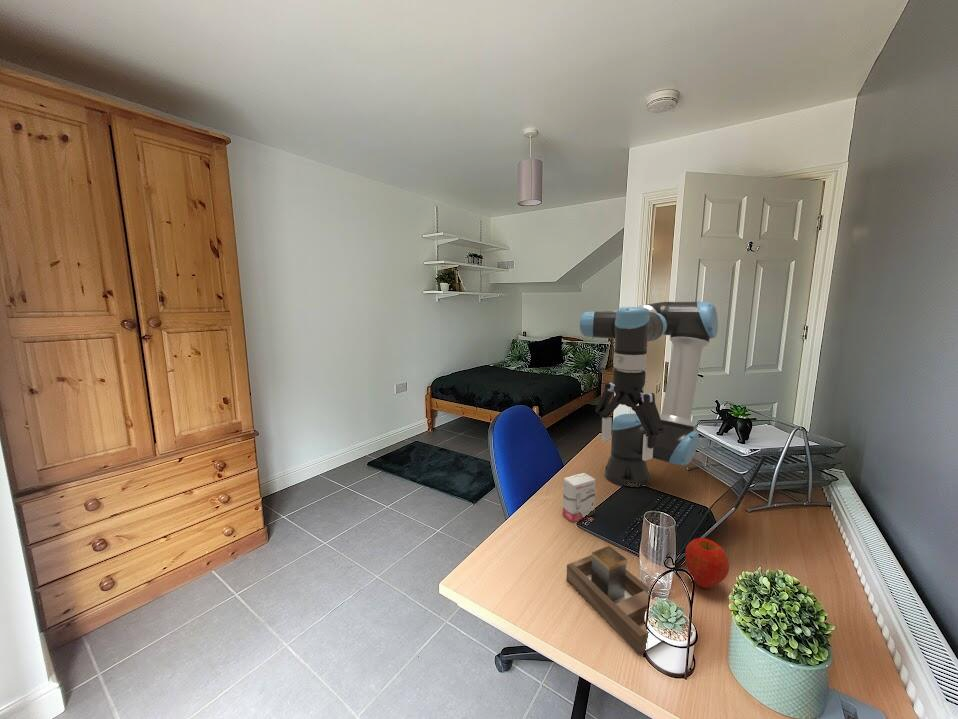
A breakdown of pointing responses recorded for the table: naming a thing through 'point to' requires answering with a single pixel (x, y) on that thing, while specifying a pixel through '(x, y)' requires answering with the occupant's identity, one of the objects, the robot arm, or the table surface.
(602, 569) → the square bit
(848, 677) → the table surface
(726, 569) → the apple
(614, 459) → the robot arm
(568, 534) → the table surface
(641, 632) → the block
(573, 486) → the ink box
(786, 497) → the table surface
